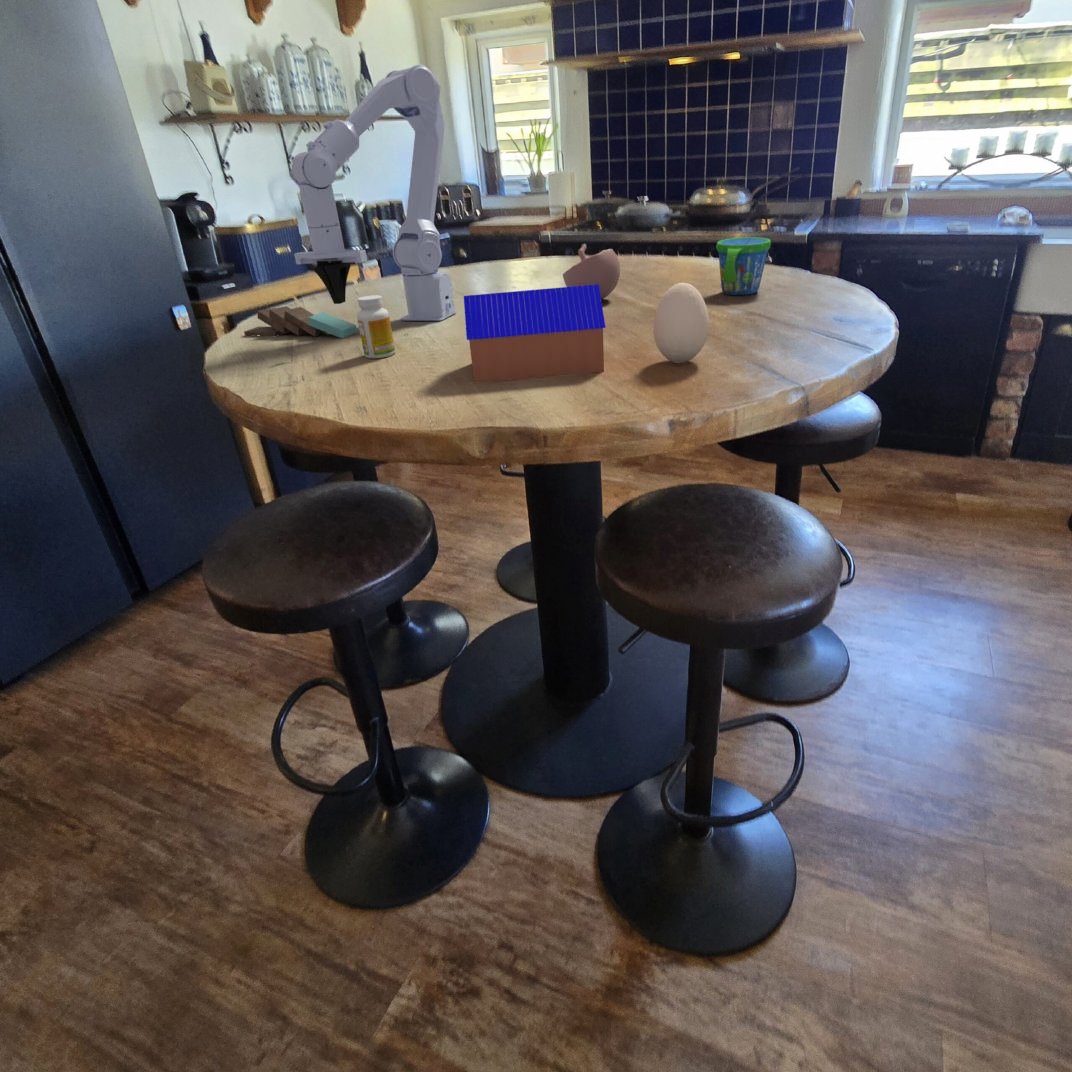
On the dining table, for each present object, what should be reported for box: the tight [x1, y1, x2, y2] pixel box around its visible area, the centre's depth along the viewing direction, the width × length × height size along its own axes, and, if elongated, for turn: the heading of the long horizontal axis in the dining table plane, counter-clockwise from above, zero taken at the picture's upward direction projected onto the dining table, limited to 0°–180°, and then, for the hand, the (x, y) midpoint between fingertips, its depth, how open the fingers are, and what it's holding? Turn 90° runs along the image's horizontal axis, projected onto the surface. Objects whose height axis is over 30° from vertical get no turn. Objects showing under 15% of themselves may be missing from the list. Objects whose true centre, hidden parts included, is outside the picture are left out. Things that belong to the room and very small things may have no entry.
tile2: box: [284, 306, 328, 337], centre depth 138 cm, size 2×4×8 cm
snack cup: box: [715, 236, 772, 296], centre depth 143 cm, size 16×10×10 cm
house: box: [463, 284, 606, 384], centre depth 104 cm, size 12×20×12 cm, turn 94°
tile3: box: [269, 305, 309, 336], centre depth 140 cm, size 2×4×8 cm
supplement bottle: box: [356, 294, 396, 360], centre depth 118 cm, size 5×5×10 cm
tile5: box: [243, 326, 284, 337], centre depth 143 cm, size 2×4×8 cm
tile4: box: [257, 307, 293, 335], centre depth 142 cm, size 2×4×8 cm
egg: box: [652, 282, 710, 364], centre depth 101 cm, size 8×8×11 cm
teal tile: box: [308, 311, 357, 339], centre depth 136 cm, size 2×4×8 cm
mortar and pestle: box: [562, 243, 621, 300], centre depth 146 cm, size 12×12×12 cm
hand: (339, 302), depth 133 cm, fingers closed
